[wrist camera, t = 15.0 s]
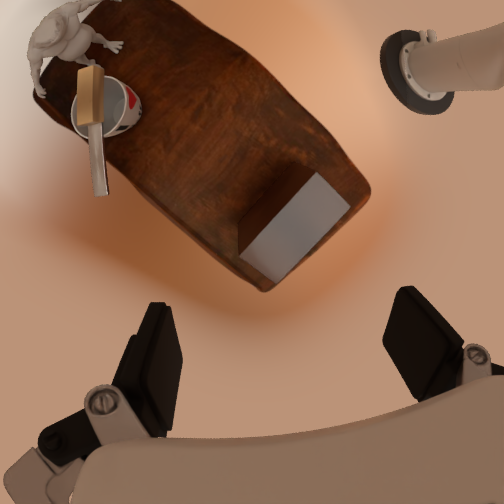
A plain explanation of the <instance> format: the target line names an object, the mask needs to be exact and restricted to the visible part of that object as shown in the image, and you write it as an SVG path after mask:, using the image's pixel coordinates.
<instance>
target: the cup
mask: <svg viewBox="0 0 504 504" xmlns="http://www.w3.org/2000/svg"><path fill="white" fill-rule="evenodd" d="M141 114H142V105H141V102H140V99H139V97H138V96H137V95H136V93H135V92H134V91H133V90H132V89H131V88H130V87H129V86H127V85H126V84H124V83H122V82H121V81H119V80H117V79H115V78H113V77H110V76H104V122H103V125H104V137H109V136H114V135H117V134H119V133H121V132H124V131H126V130H128V129H130V128H131V127H132V126H133V125H134V124H135V123H136V122H137V121H138V120H139V119H140V117H141ZM71 118H72V123H73V126H74V128H75V130H76V131H77V132H78V133H79V134H80V135H81V136H83V137H85V138H87V139H89V138H88V126H77V95H76V97H75V99H74V101H73V105H72V110H71Z"/></svg>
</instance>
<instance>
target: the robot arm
mask: <svg viewBox="0 0 504 504" xmlns="http://www.w3.org/2000/svg"><path fill="white" fill-rule="evenodd" d="M419 34H420V38H421V40H420V42H416V41H413V42H409V43H407V44H405V45H404V46H403V47H402V49H401V51H400V54H399V65H400V69H401V72H402V75H403V77H404V79H405V81H406V83H407V84H408V86H409V87H410V88H411V89H412V90H413V91H414V92H415V93H416V94H417V95H418V96H420V97H421V98H423V99H426V100H430V101H435V100H440V99H441V98H443V97H444V96H445V94H446V92H451V91H474V90H497V89H500V88H501V87H503V86H504V22H503V23H501V24H498V25H496V26H493V27H490V28H487V29H484V30H480V31H476V32H472V33H468V34H464V35H460V36H456V37H453V38H449V39H445V40H442V41H438V42H437V37H436V32H435V31H434V30H427V35H428V39H429V42H428V41H427V39H426V38H427V37H426V32H424V31H419ZM382 341H383V345H384V347H385V349H386V350H387V352H388V354H389V355H390V357H391V359H392V360H393V362H394V364H395V366H396V367H397V369H398V371H399V373H400V374H401V376H402V378H403V379H404V381H405V383H406V385H407V387H408V388H409V390H410V392H411V394H412V396H413V397H414V398H415V399H417V400H418V402H419V403H417V404H414V405H411V406H408V407H405V408H402V409H399V410H396V411H393V412H390V413H386V414H383V415H380V416H376V417H372V418H369V419H365V420H361V421H357V422H353V423H349V424H344V425H340V426H335V427H330V428H324V429H319V430H313V431H306V432H299V433H292V434H284V435H274V436H264V437H248V438H220V439H201V438H200V439H199V438H198V439H197V438H166V436H167V431H171V430H172V425H173V418H174V411H175V405H176V399H177V392H178V387H179V381H180V375H181V369H182V363H183V358H182V352H181V349H180V344H179V341H178V336H177V332H176V328H175V324H174V319H173V315H172V310H171V307H170V306H166V304H165V302H151V303H150V304H149V306H148V309H147V311H146V313H145V316H144V318H143V321H142V323H141V325H140V327H139V330H138V333H137V335H132V336H131V337H130V339H129V341H128V344H127V346H126V349H125V351H124V354H123V356H122V358H121V361H120V363H119V366H118V369H117V371H116V374H115V376H114V379H113V382H112V384H111V385H108V384H106V385H99V386H96V387H95V388H93V389H91V390H90V391H89V392H88V393H87V395H86V397H85V400H84V407H85V408H84V409H82V410H80V411H78V412H77V413H74V414H72V415H71V416H69V417H67V418H64V419H62V420H60V421H58V422H56V423H54V424H52V425H50V426H49V427H46V428H45V429H44V430H43V431H42V432H41V433H40V436H39V438H38V447H37V448H36V449H35V448H33V447H32V448H31V449H30V450H29V451H28V452H26V453H25V454H24V455H23V456H22V457H21V458H20V459H19V460H18V461H17V462H16V463H15V464H13V466H11V467H10V468H9V469H8V470H7V471H6V473H5V474H4V479H3V482H4V486H5V488H6V490H7V492H8V494H9V495H10V496H11V498H12V500H13V501H14V502H15V504H69V497H70V495H71V493H72V492H73V495H72V499H71V504H504V367H503V366H500V365H497V364H494V363H491V358H490V354H489V353H488V351H487V350H486V349H485V348H484V347H482V346H480V345H478V344H468V345H467V346H466V347H465V348H464V349H463V348H462V345H463V343H464V340H463V339H462V338H461V337H460V335H459V334H458V333H457V332H456V331H455V330H454V329H453V327H452V326H450V324H449V323H448V322H447V321H446V320H445V318H443V316H442V315H441V314H440V313H439V312H438V311H437V310H436V309H435V308H434V307H433V305H432V304H431V303H430V302H429V301H428V300H427V299H426V298H425V297H424V296H423V295H422V294H421V293H420V292H419V291H418V290H417V289H416V288H415V287H414V286H404V287H401V288H400V289H399V291H397V293H396V296H395V299H394V303H393V306H392V310H391V313H390V317H389V320H388V323H387V326H386V329H385V332H384V335H383V339H382ZM158 437H164V438H158ZM74 486H75V487H74Z"/></svg>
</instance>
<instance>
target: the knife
mask: <svg viewBox="0 0 504 504" xmlns="http://www.w3.org/2000/svg"><path fill="white" fill-rule="evenodd" d="M103 122H104V69H102V68H100V67H97V66H95V65H92V66H89V67H86V68H83V69H80V70H78V80H77V126H88V138H89V153H90V164H91V174H92V182H93V190H94V196H95V197H99V196H107V195H109V186H108V178H107V169H106V158H105V144H104V125H103Z"/></svg>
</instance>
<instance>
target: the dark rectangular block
mask: <svg viewBox="0 0 504 504" xmlns="http://www.w3.org/2000/svg"><path fill="white" fill-rule="evenodd" d="M350 207H351V206H350V205H349V204H348V203H347V202H346V201H345V200H344V199H343V197H342V196H341V195H340V194H339V193H338V192H337V191H336V190H335V189H334V188H333V187H332V186H331V185H330V184H329V183H328V182H327V181H326V180H325V179H324V178H323V177H322V176H321V175H320V174H319V173H318V172H317V171H315V170H312V169H310V168H308V167H305V166H303V165H301V164H298V163H296V162H293V163H292V164H291V165H290V166H289V167H288V168H287V169H286V170H285V171H284V173H283V174H282V175H281V176H280V177H279V178H278V179H277V180H276V181H275V182H274V184H273V185H272V186H271V187H270V188H269V189H268V190H267V191H266V192H265V194H264V195H263V196H262V197H261V198H260V199H259V200H258V201H257V203H256V204H255V205H254V206H253V207H252V208H251V209H250V210H249V212H248V213H247V214H246V215H245V216H244V217H243V218H242V219H241V221H240V222H239V223H238V251H239V257H240V258H242V259H243V260H244V261H246V262H247V263H248V264H250V265H251V266H252V267H254V268H255V269H256V270H258V271H259V272H260V273H262V274H263V275H264V276H266V277H267V278H268V279H270V280H271V281H272V282H274V283H275V284H277V283H278V282H279V281H280V280H281V279H282V278H283V277H284V276H285V275H286V274H287V273H288V272H289V271H290V270H291V269H292V268H293V267H294V266H295V265H296V264H297V263H298V262H299V261H300V260H301V259H302V258H303V257H304V256H305V255H306V254H307V253H308V252H309V251H310V250H311V249H312V248H313V247H314V246H315V245H316V243H317V242H318V241H319V240H320V239H321V238H322V237H323V236H324V235H325V234H326V233H327V232H328V231H329V230H330V229H331V228H332V227H333V226H334V225H335V224H336V222H337V221H338V220H339V219H340V218H341V217H342V216H343V215H344V214H345V213H346V212H347V211H348V210H349V208H350Z"/></svg>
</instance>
